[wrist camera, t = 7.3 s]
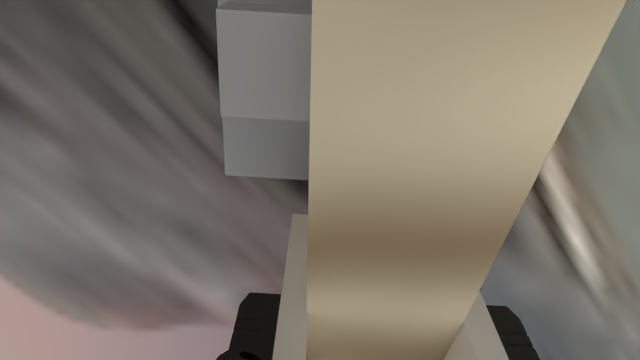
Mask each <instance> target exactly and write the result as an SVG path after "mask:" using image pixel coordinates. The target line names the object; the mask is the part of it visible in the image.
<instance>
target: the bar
mask: <svg viewBox="0 0 640 360" xmlns="http://www.w3.org/2000/svg"><path fill="white" fill-rule="evenodd" d="M626 1H627V0H312V36H311V90H310V144H309V198H308V252H307V306H306V313H308V329H307V346H306V360H444V358H445V356H446V355H447V353H448V351H449V349H450V347H451V345H452V344H453V342H454V340H455V338H456V336H457V334H458V332H459V330H460V328H461V326H462V324H463V322H464V320H465V318H466V316H467V314H468V312H469V310H470V308H471V306H472V304H473V302H474V300H475V298H476V296H477V294H478V292H479V290H480V288H481V286H482V284H483V282H484V280H485V279H486V277H487V275H488V273H489V271H490V269H491V267H492V265H493V263H494V261H495V259H496V257H497V255H498V253H499V251H500V249H501V247H502V245H503V243H504V241H505V239H506V237H507V235H508V233H509V231H510V229H511V227H512V225H513V223H514V221H515V219H516V217H517V215H518V213H519V212H520V210H521V208H522V206H523V204H524V202H525V200H526V198H527V196H528V194H529V192H530V190H531V188H532V186H533V184H534V182H535V180H536V178H537V176H538V174H539V172H540V170H541V168H542V166H543V164H544V162H545V160H546V158H547V156H548V154H549V152H550V150H551V148H552V146H553V144H554V143H555V141H556V139H557V137H558V135H559V133H560V131H561V129H562V127H563V125H564V123H565V121H566V119H567V117H568V115H569V113H570V111H571V109H572V107H573V105H574V103H575V101H576V99H577V97H578V95H579V93H580V91H581V89H582V87H583V85H584V83H585V81H586V79H587V77H588V75H589V74H590V72H591V70H592V68H593V66H594V64H595V62H596V60H597V58H598V56H599V54H600V52H601V50H602V48H603V46H604V44H605V42H606V40H607V38H608V36H609V34H610V32H611V30H612V28H613V26H614V24H615V22H616V20H617V18H618V16H619V14H620V12H621V10H622V8H623V7H624V5H625V3H626Z"/></svg>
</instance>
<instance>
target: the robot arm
mask: <svg viewBox="0 0 640 360" xmlns="http://www.w3.org/2000/svg"><path fill="white" fill-rule="evenodd" d="M307 252H308V215H306V214H292V221H291V228H290V235H289V242H288V249H287V257H286V264H285V271H284V278H283V285H282V293H281V294H266V293H249V294H248V295H247V297H246V298H245V299H244V300H243V301H242V302H241V304H240V306H239V310H238V314H237V319H236V322H235V326H234V332H233V334H232V338H231V343H230V347H229V350H228V351H226V352H224V353H223V354H221V355H220V356H219V357H218V358H217V359H216V360H306V346H307V329H308V313H306V306H307ZM444 360H540V359H539V357H538V355H537V353H536V351H535V349H534V348H533V345H532V343H531V341H530V339H529V337H528V336H527V333H526V331H525V329H524V327H523V325H522V323H521V321H520V319H519V318H518V317H517V316H516V315H515V314H514V313H513V312H512V311H511V310H510V309H509V308H508V307H507V306H491V305H485V302H484V300H483V298H482V295H481V293H480V290H479V292H478V294H477V296H476V298H475V300H474V302H473V304H472V306H471V308H470V310H469V312H468V314H467V316H466V318H465V320H464V322H463V324H462V326H461V328H460V330H459V332H458V334H457V336H456V338H455V340H454V342H453V344H452V345H451V347H450V349H449V351H448V353H447V355H446V356H445V358H444Z"/></svg>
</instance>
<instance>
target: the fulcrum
mask: <svg viewBox="0 0 640 360" xmlns="http://www.w3.org/2000/svg"><path fill="white" fill-rule="evenodd" d="M217 1H218V8H216V26H217V48H218V71H219V93H220V116H222V119H223V143H224V166H225V175H228V176H245V177H261V178H278V179H295V180H309V144H310V90H311V36H312V0H217Z"/></svg>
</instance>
